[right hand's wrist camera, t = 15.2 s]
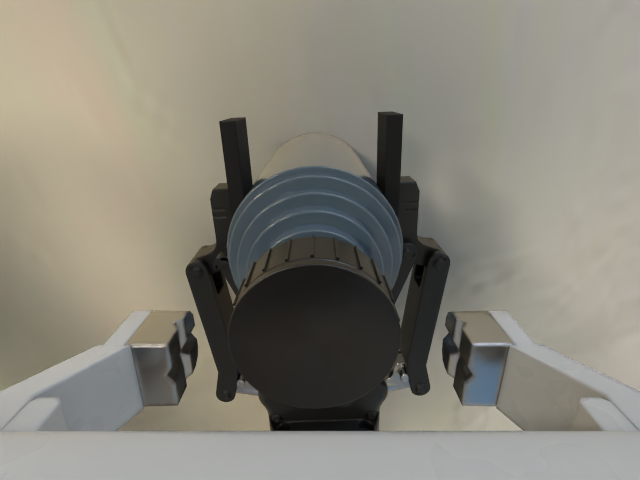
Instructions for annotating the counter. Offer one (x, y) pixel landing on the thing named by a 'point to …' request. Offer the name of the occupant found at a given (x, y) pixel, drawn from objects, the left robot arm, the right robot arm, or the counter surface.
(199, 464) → the right robot arm
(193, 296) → the left robot arm
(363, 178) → the bottle
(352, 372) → the cap
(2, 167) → the counter surface
